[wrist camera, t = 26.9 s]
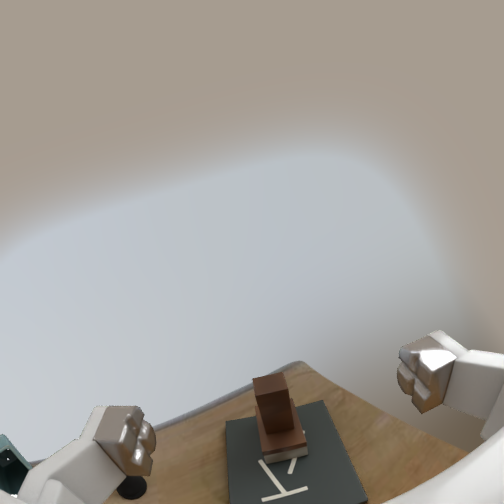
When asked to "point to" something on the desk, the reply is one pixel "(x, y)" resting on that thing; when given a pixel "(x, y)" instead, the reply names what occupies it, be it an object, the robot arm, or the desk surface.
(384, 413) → the desk surface
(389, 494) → the desk surface
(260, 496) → the chalkboard
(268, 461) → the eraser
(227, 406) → the desk surface
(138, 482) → the chess piece
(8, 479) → the flower pot
